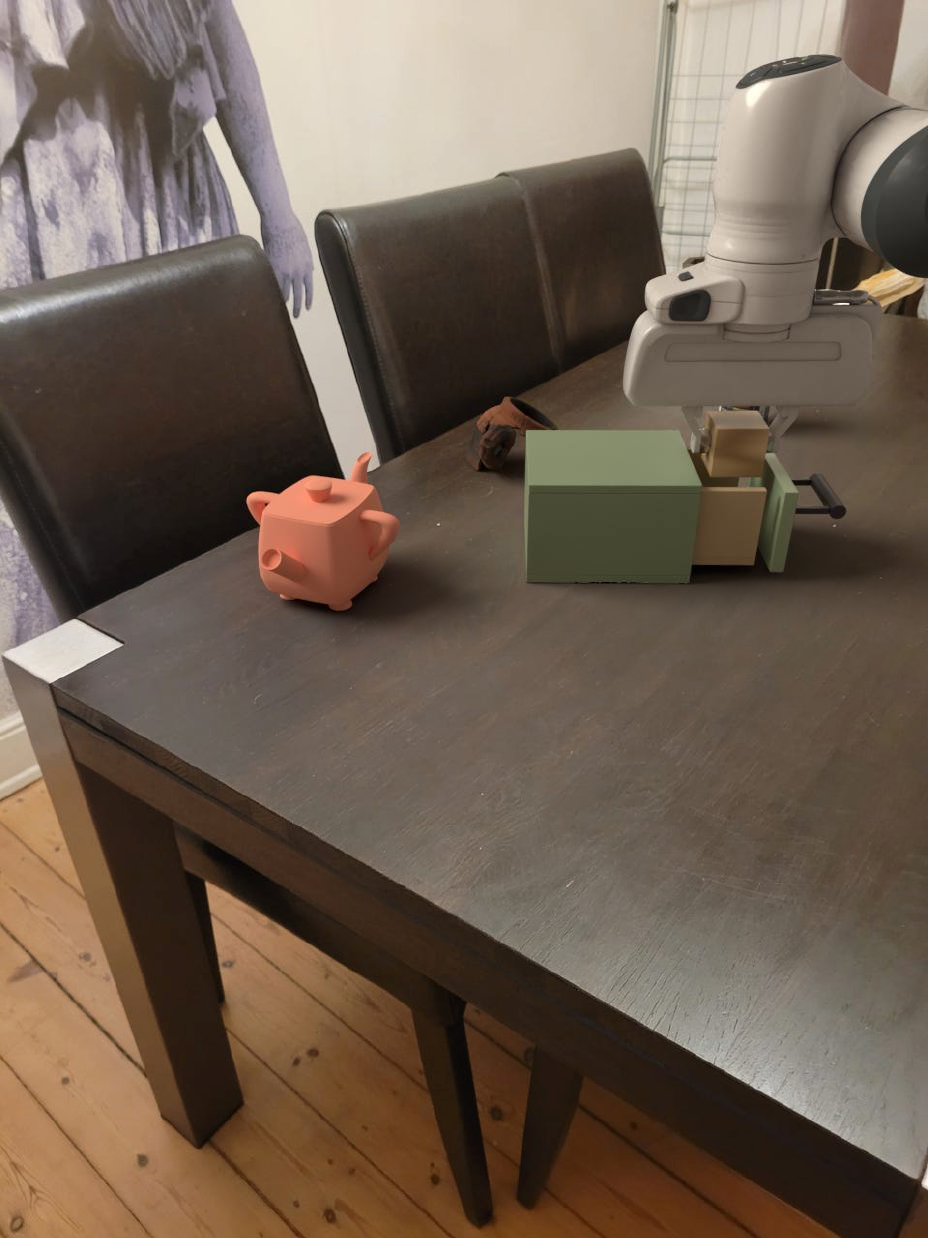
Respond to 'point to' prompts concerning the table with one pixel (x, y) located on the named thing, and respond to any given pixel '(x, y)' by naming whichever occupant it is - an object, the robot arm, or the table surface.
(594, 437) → the cabinet
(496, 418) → the pottery mug
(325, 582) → the teapot
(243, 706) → the table surface
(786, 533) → the drawer
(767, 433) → the block
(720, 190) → the robot arm
